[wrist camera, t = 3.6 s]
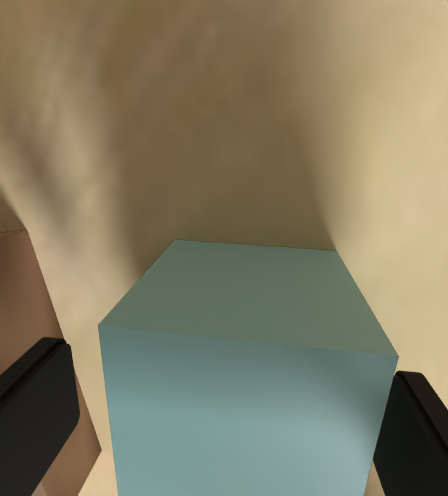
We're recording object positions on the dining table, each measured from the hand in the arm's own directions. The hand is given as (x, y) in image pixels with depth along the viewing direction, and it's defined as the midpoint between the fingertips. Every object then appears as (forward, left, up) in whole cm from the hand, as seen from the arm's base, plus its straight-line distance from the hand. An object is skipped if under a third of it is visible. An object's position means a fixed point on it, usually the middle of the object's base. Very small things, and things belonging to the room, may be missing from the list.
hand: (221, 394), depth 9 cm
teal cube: (0, +1, -4) cm, 4 cm away
